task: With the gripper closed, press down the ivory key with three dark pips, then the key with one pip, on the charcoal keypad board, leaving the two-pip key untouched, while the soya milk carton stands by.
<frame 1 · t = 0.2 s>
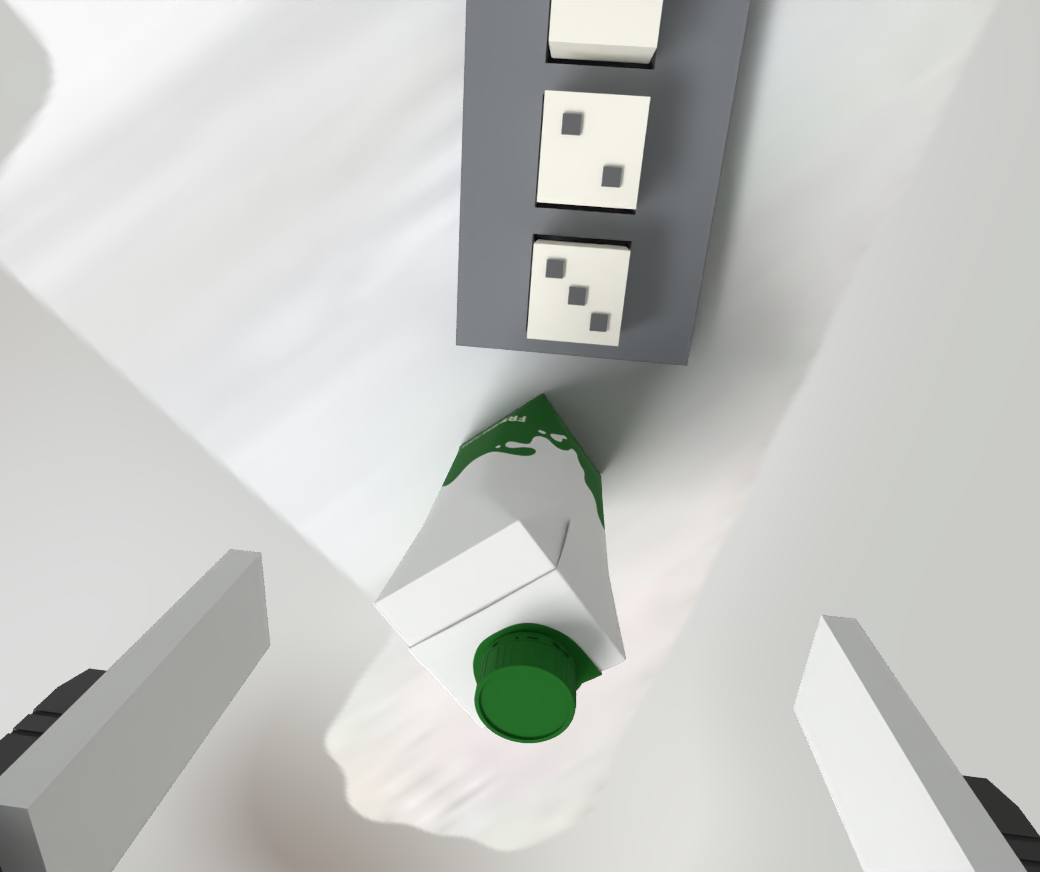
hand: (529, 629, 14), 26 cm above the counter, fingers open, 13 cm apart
key two: (590, 153, 31), point 4 cm above the counter, slide at 0.0 cm
key three: (576, 291, 34), point 4 cm above the counter, slide at 0.0 cm
keypad board: (589, 158, 35), on the counter
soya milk: (530, 458, 42), on the counter
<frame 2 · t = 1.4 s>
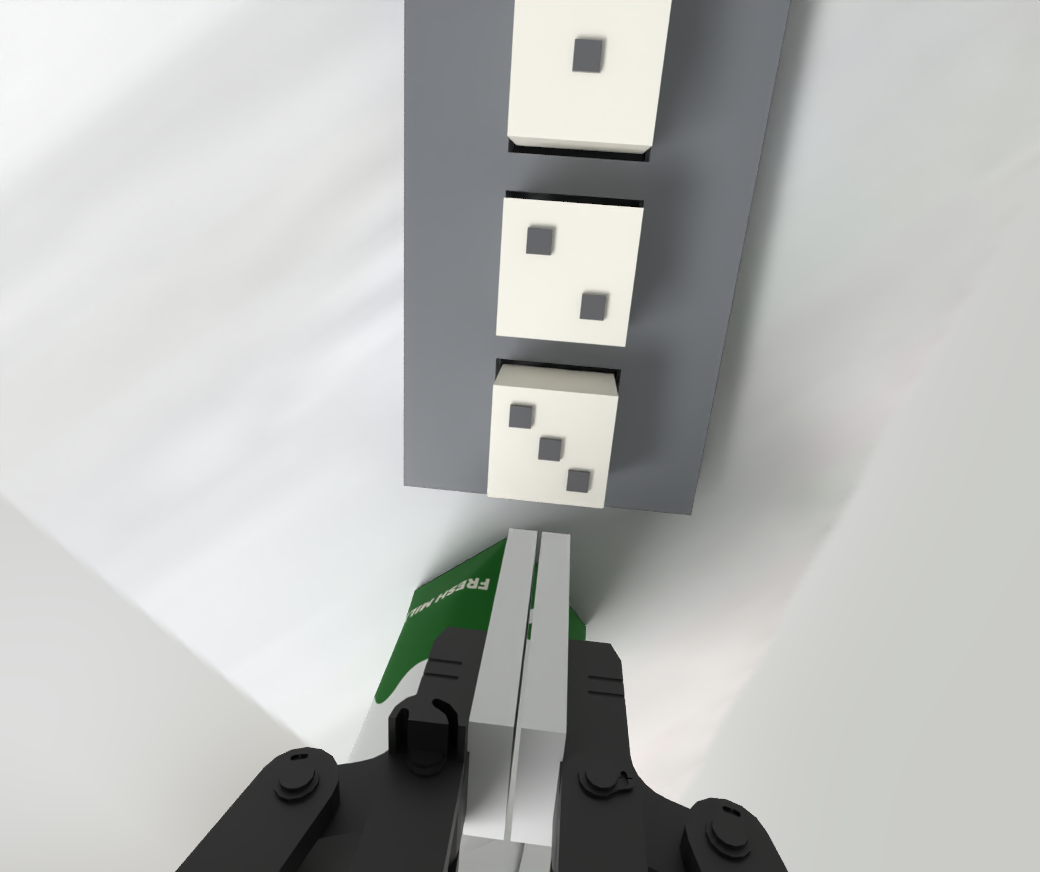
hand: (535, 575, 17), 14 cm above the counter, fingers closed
key two: (567, 270, 24), point 4 cm above the counter, slide at 0.0 cm
key three: (551, 434, 27), point 4 cm above the counter, slide at 0.0 cm
keypad board: (568, 262, 27), on the counter
key one: (586, 67, 22), point 4 cm above the counter, slide at 0.0 cm
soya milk: (500, 604, 35), on the counter
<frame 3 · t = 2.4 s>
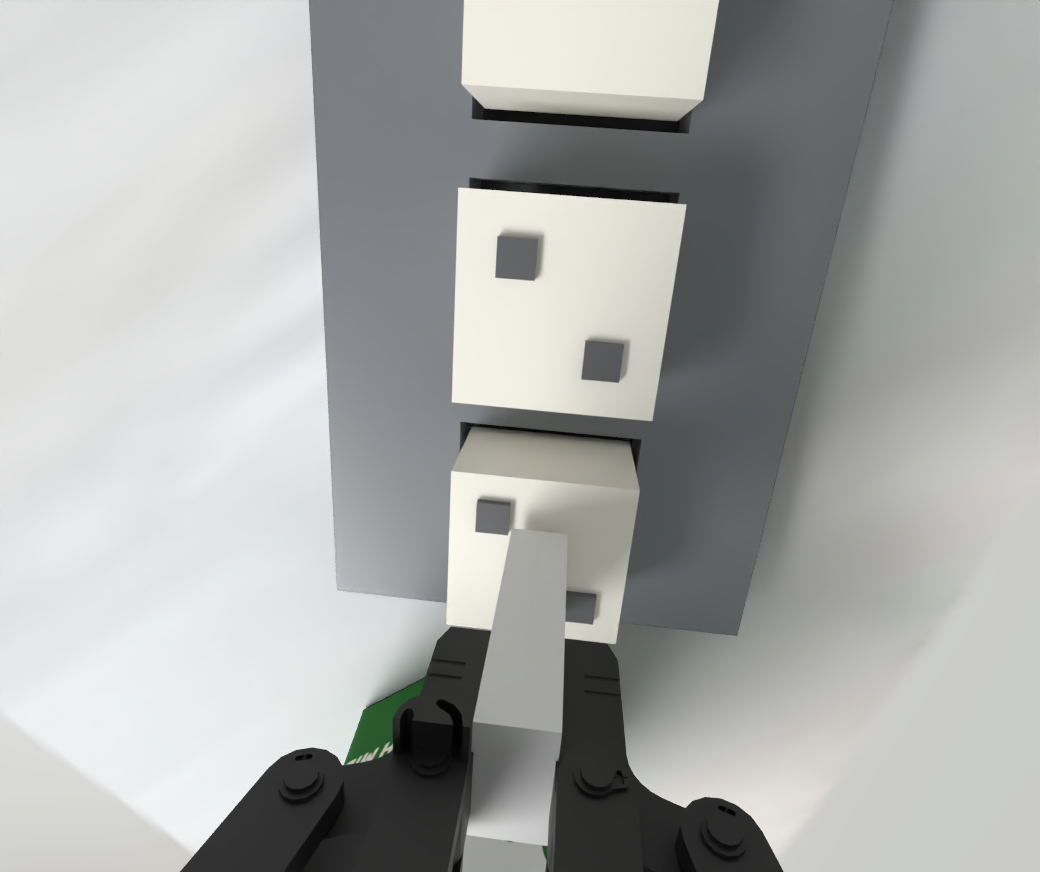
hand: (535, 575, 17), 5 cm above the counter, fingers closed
key two: (562, 300, 16), point 4 cm above the counter, slide at 0.0 cm
key three: (540, 531, 18), point 3 cm above the counter, slide at 0.2 cm, touching gripper
keypad board: (564, 283, 19), on the counter
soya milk: (476, 727, 26), on the counter
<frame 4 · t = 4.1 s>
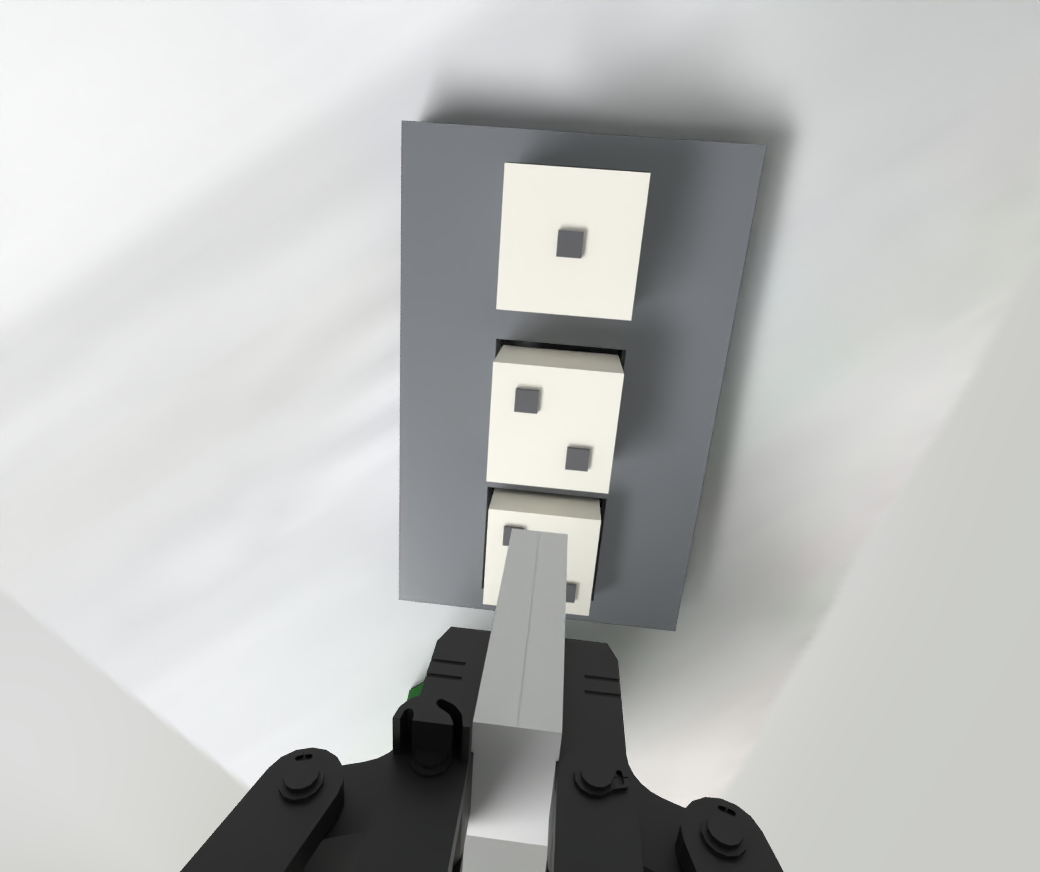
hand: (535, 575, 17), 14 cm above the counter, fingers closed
key two: (553, 417, 26), point 4 cm above the counter, slide at 0.0 cm
key three: (541, 545, 29), point 2 cm above the counter, slide at 1.5 cm
keypad board: (556, 394, 29), on the counter
key one: (570, 242, 23), point 4 cm above the counter, slide at 0.0 cm
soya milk: (492, 703, 36), on the counter
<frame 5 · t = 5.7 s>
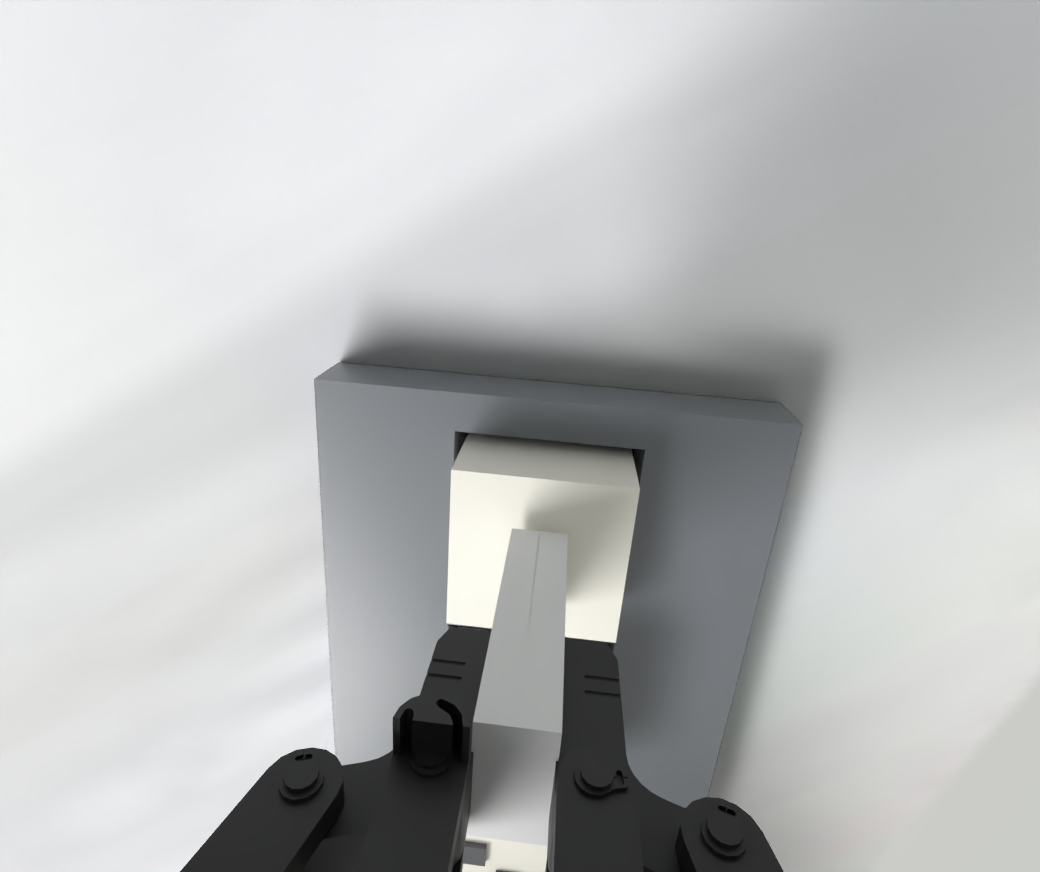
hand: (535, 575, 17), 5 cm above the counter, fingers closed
key two: (521, 734, 20), point 4 cm above the counter, slide at 0.0 cm
key three: (511, 836, 24), point 2 cm above the counter, slide at 1.5 cm
keypad board: (529, 658, 23), on the counter
key one: (540, 530, 18), point 2 cm above the counter, slide at 1.2 cm, touching gripper
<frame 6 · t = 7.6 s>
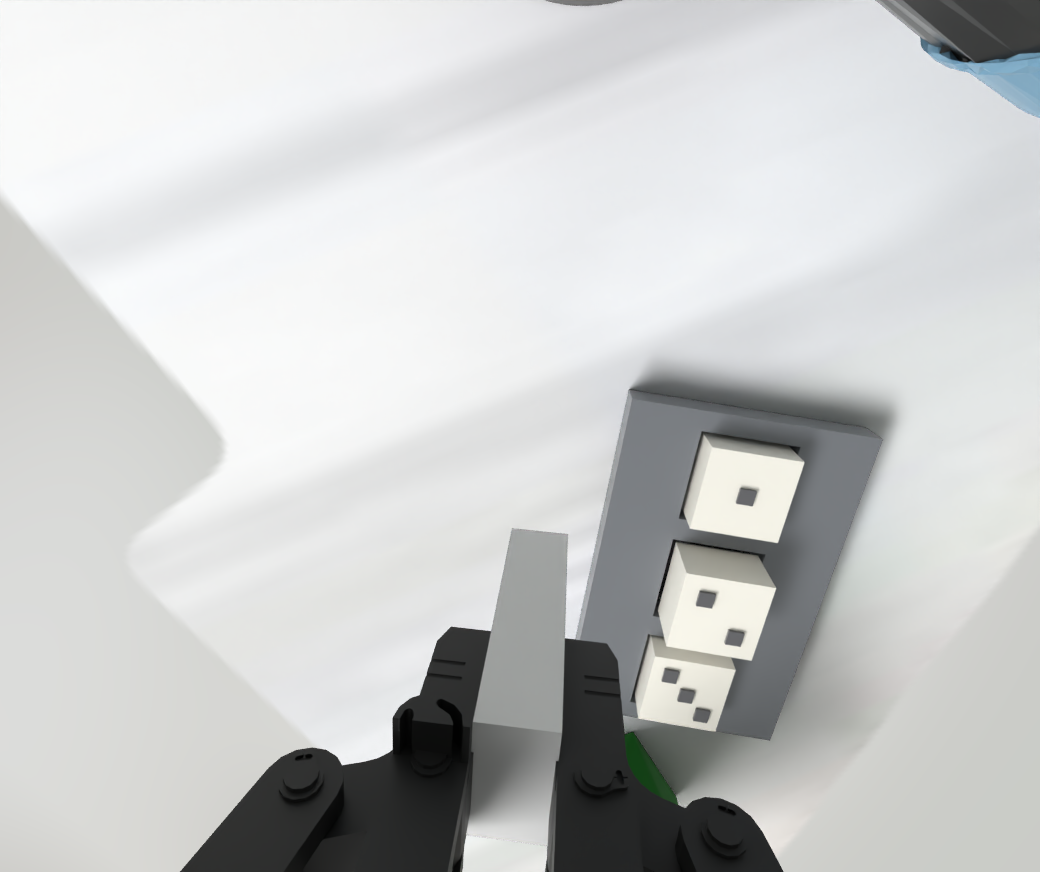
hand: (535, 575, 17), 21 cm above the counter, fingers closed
key two: (713, 600, 36), point 4 cm above the counter, slide at 0.0 cm
key three: (681, 676, 40), point 2 cm above the counter, slide at 1.5 cm
keypad board: (701, 568, 39), on the counter
key one: (737, 484, 35), point 2 cm above the counter, slide at 1.5 cm
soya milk: (612, 776, 46), on the counter
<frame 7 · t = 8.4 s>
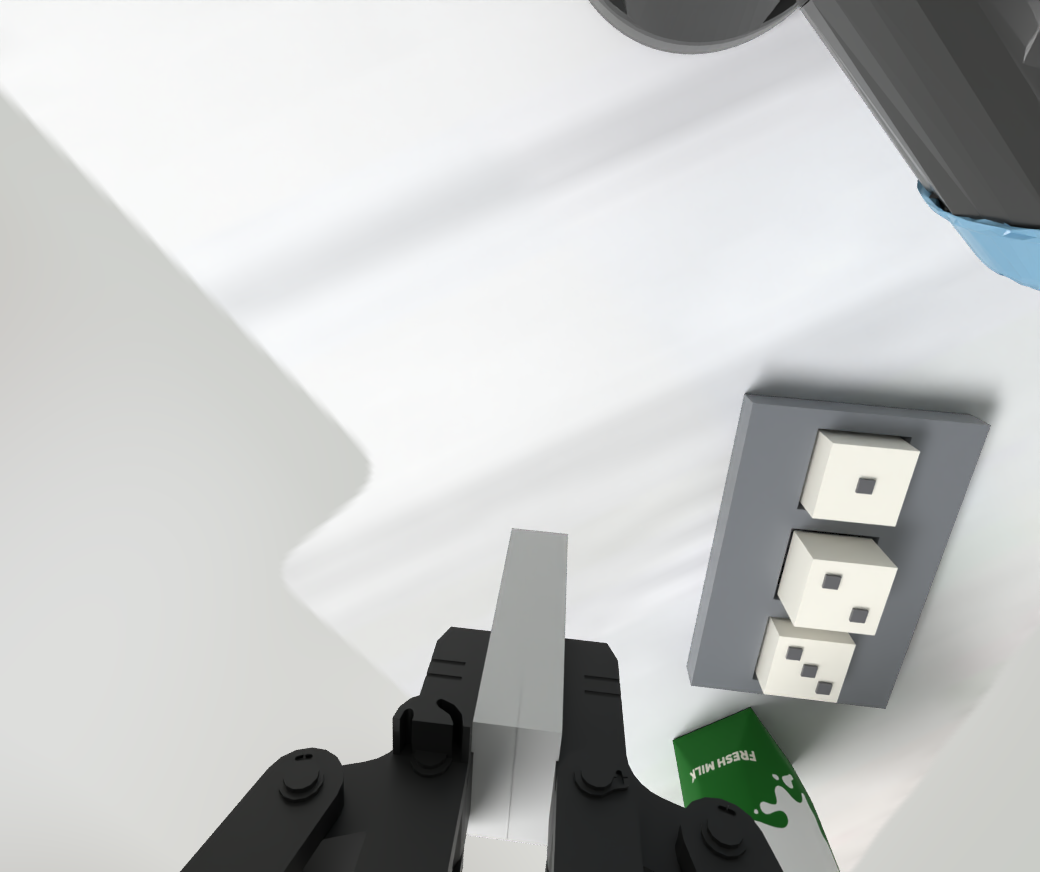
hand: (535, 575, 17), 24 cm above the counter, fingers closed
key two: (834, 582, 39), point 4 cm above the counter, slide at 0.0 cm
key three: (800, 653, 43), point 2 cm above the counter, slide at 1.5 cm
keypad board: (814, 553, 43), on the counter
key one: (853, 474, 38), point 2 cm above the counter, slide at 1.5 cm
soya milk: (731, 749, 50), on the counter
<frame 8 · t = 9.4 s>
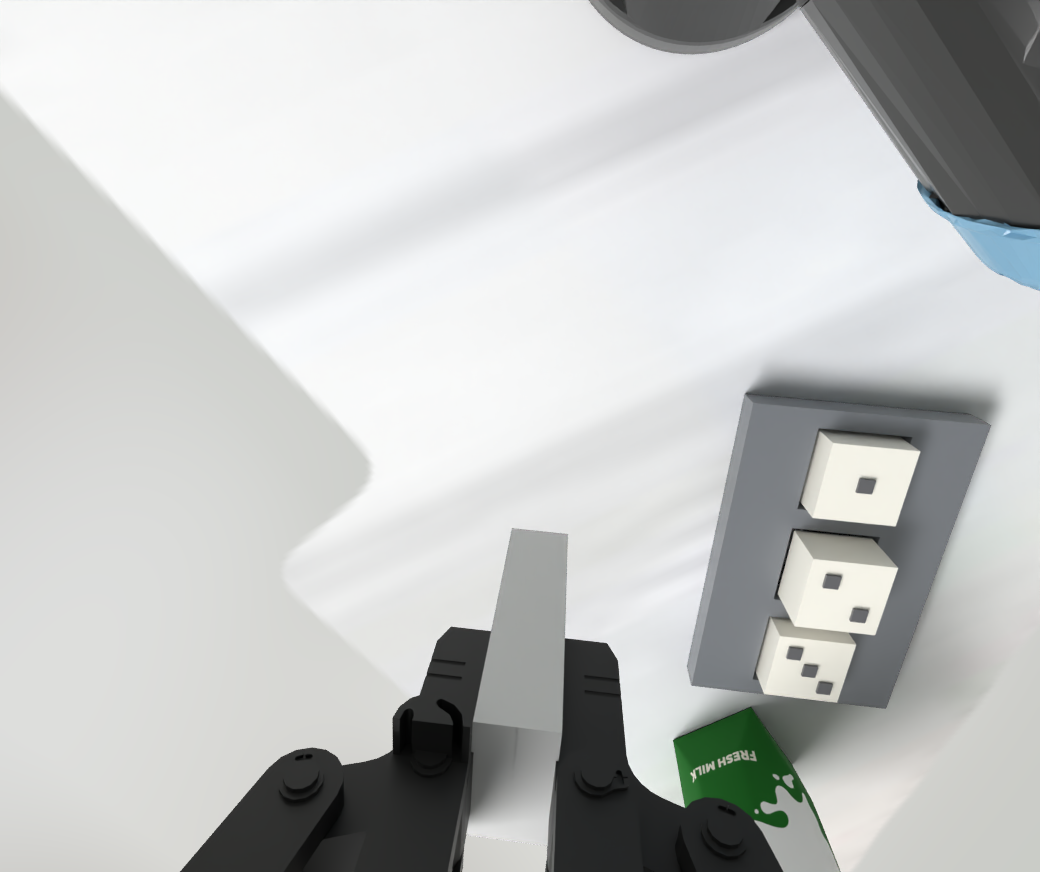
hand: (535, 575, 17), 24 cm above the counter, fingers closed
key two: (834, 582, 39), point 4 cm above the counter, slide at 0.0 cm
key three: (800, 653, 43), point 2 cm above the counter, slide at 1.5 cm
keypad board: (814, 553, 43), on the counter
key one: (853, 474, 38), point 2 cm above the counter, slide at 1.5 cm
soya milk: (731, 749, 50), on the counter
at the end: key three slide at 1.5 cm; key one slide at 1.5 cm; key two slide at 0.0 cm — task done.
